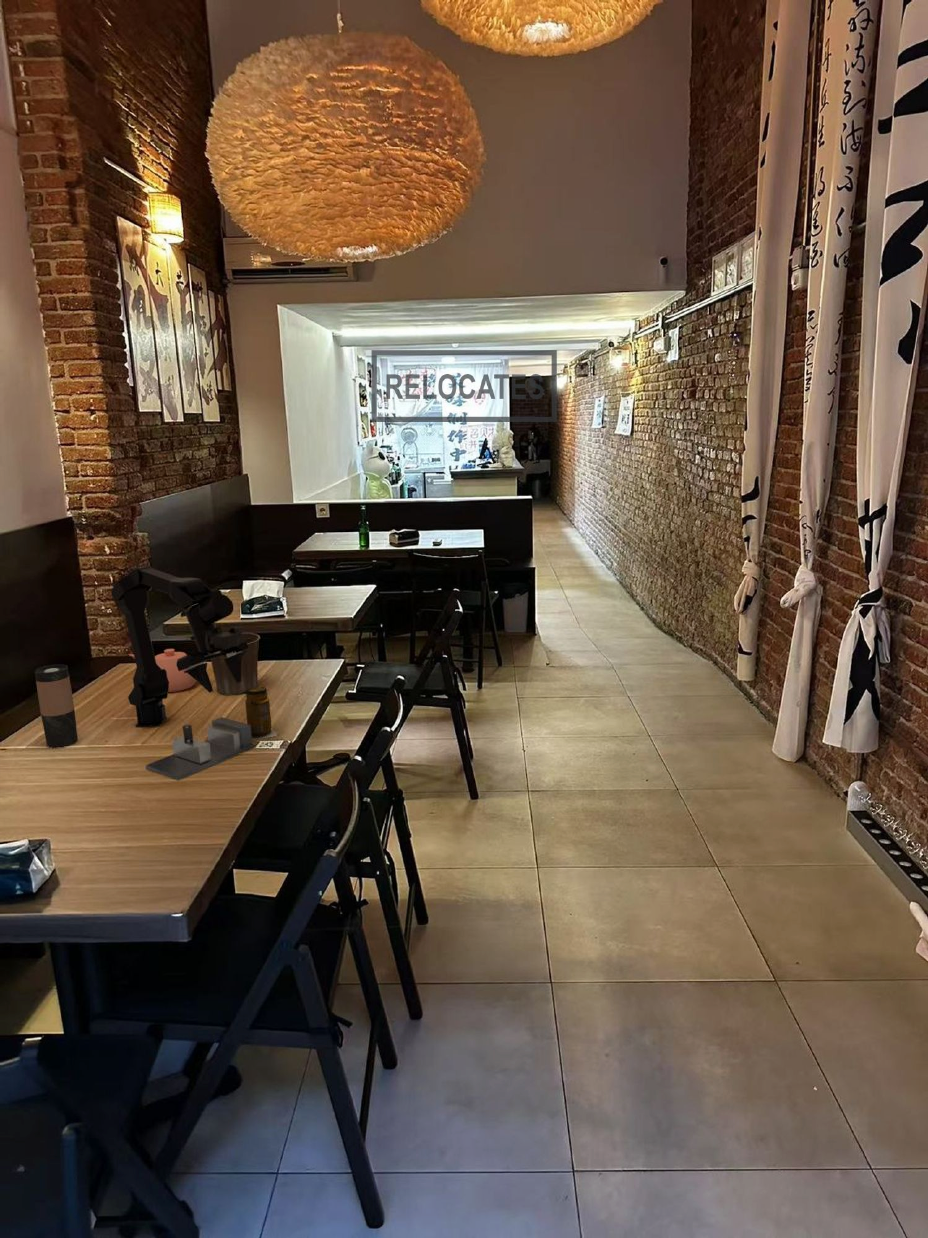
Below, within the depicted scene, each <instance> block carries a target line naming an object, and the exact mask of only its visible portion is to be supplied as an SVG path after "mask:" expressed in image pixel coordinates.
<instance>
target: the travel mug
mask: <svg viewBox="0 0 928 1238" xmlns="http://www.w3.org/2000/svg"><path fill="white" fill-rule="evenodd" d="M34 676H35V683H36V689H37V697H38V705H39V712H40V716H41V721H42V728H43V732H44V736H45V737H44V738H45V741H46V746H47V747H48V746H49V747H48V748H50V747H52V748H51V749H58V748H57V747H62V748H65V747H64V746H67V747H70V746H72V745H75V744H76V743H77V742H78V730H77V729H78V728H77V722H76V721H77V720H76V712H75V711H76V709H75V705H74V697H73V692H72V691H73V690H72V685H71V680H70V674H69V668H68V665H66V664H51V665H45V666H44V665H43V666H41V667H38V668H36V670H35V671H34Z"/></svg>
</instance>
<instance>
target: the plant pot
mask: <svg viewBox="0 0 928 1238" xmlns="http://www.w3.org/2000/svg"><path fill="white" fill-rule="evenodd" d="M241 633H242V639H244V640H245V641H247V643H248V646H249V649H247V650H245V651H246V653H245V654H244V655H243V657H242V660H241V682H240V683H237V682H236V680H235V679H234V677H233V675H232V673H231V671H230V670H229V668H228V666H227V664H226V662H225V661H224V659H226V658H227V657H225V656H224V655H223V656H219V657H216V658H212V659H210V661H211V667H212V670H213V671H212V672H213V678H214V680H215V681H214V682H215V685H216V691H217V692H218V691H219V692H218V693H219V694H220V693H221V695H225V694H238V695H242V694H243V693H246V690H247V689H249V688H251V687H256V686H259V684H258V683H259V682H258V677H259V676H258V655H259V653H258V652H259V649H260V647H259V644H260V642H259V641H260V640H261V636H260V635H259V634H257V633H252V632H241ZM217 652H218V651H217ZM243 652H244V651H243ZM215 653H216V652H215ZM209 654H210V653H208V655H209ZM241 693H242V694H241Z"/></svg>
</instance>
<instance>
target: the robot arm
mask: <svg viewBox="0 0 928 1238" xmlns="http://www.w3.org/2000/svg"><path fill="white" fill-rule="evenodd" d="M151 589H154V590H157V591H160V592H163V593H164V594H167V595H169V596H170V599H171V600H172V601H174V603H177V604H178V605H180V606H183V607H182V611H181V613H180V617H181V618H185V617H186V620H187V622H188V625H189V628H190V630H191V633H192V636H190V641H191V642H193V641H195V644H196V646H197V648H198V651H195V652H193V653H189V654H186V656H184V657H182V658H180V659H178V660H177V664H176V665H177V668H178V671H182V670H185V669H187V670H186V671H184V673H188V674H189V675H190V676H192V677H193V678H194V679H195V680H197V681H196V682H197V683H198V684H199V685H200V686H201V687H203V688H204V689H205V690H206V691H207V692H208V693H213V692H214V689H213V685H212V682H211V680H210V676H209V674H208V672H207V670H208V662H206V661H209V660H211V659H212V658H216V657H219V656H223V655H224V656H225V657H227V658H226V659H224V661H225V662H226V664H227V666H228V668H229V670H230V671H231V673H232V675H233V677H234V679H235V680H236V682H237V683H240V682H241V660H242V657H243V655H244V654H245V653H246V651H245V650H247V649H249V646H248V643H247V641H245V640H244V639H242V633H243V632H242V631H241V629H240V627H236V626H235V627H230V628H229V631H226V632H224V631H223V629H222V628H221V626H218V627H217V626H216V623H218V622H219V621H221V620H223V619H226V618H227V617H229V616H230V615H232V614H233V611H234V602H233V600H231V599H230V598H229V597H228V596H227V595H226V594H222V590H221V589H217V590H212V589H211V588H210V587H209V586H208V585H207V584H205V582H204V581H203V579H201V578H200V577H199V578H197V577H178V576H175V575H172V574H169V573H166V572H163V571H161V570H158V569H155V568H154V567H152V566H150V565H148V566H140V567H135V568H134V569H132V570H131V571H130V572H129V573H127V575H125V576H124V577H122V578H121V579H119V580H118V581H117V582H115V583H114V584H113V587H112V588H111V590H110V591H111V592H110V593H111V597H112V599H113V601H114V604H115V605H114V606H115V607H116V608H117V609H118V610H119V611H120V613H122V614H123V616H124V618H125V622H126V627H127V629H128V630H127V631H128V635H129V639H130V644H131V647H132V653H133V655H134V657H135V659H134V661H135V665H136V669H135V672H134V674H133V678H132V681H133V688H132V690H131V691H130V692H129V695H128V696H127V698H128V703H129V704H130V705H131V706H135V712H136V718H137V723H136V724H134V725H135V728H136V727H137V728H138V727H139V728H141V727H143V728H144V727H159V726H161V725H162V724H163V723H164V722H165V721H166V720H167V719H168V716H167V713H166V712H167V711H166V710H167V709H166V704H163V702H164V701H163V700H166V699H168V696H169V695H168V693H169V692H168V689H169V681H168V678H167V672H166V670H165V669H161V668H160V667H159V666H158V665H157V664H156V660H155V656H156V655H155V652H154V647H153V643H152V640H151V635H150V631H149V630H150V629H149V626H148V621H147V616H146V613H145V612H146V608H147V606H148V603H149V592H150V590H151ZM217 651H218V652H217ZM243 651H244V652H243ZM215 652H216V653H215ZM209 653H210V654H209ZM203 661H204V663H203Z"/></svg>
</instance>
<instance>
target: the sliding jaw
mask: <svg viewBox="0 0 928 1238" xmlns="http://www.w3.org/2000/svg"><path fill="white" fill-rule="evenodd" d="M192 726H193V725H192V724H186V725H183V726H182V733H183V734H182V735H180V736H178V737H174V738H172V740H171V741H172V749H173V754H174V755H175V756H178V757H182V758H185V759H188V760H191V761H194V762H197V763H200V764H201V763H203V762H206V761H208V760H211V753H210V744H209V743H206V741H203V740H200V739H196V738H194V736H193V727H192Z"/></svg>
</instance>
